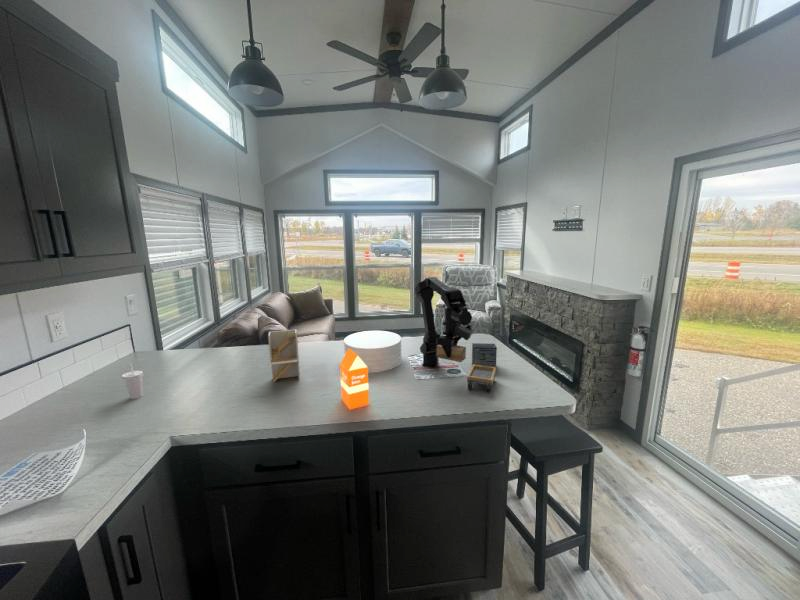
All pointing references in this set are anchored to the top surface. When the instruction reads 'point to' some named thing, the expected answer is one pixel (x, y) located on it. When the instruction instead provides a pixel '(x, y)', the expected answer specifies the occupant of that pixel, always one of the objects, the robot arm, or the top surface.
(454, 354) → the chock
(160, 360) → the top surface
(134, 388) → the smoothie
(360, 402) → the orange juice
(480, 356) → the small box
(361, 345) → the plate stack
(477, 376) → the wooden frame tray
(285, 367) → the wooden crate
